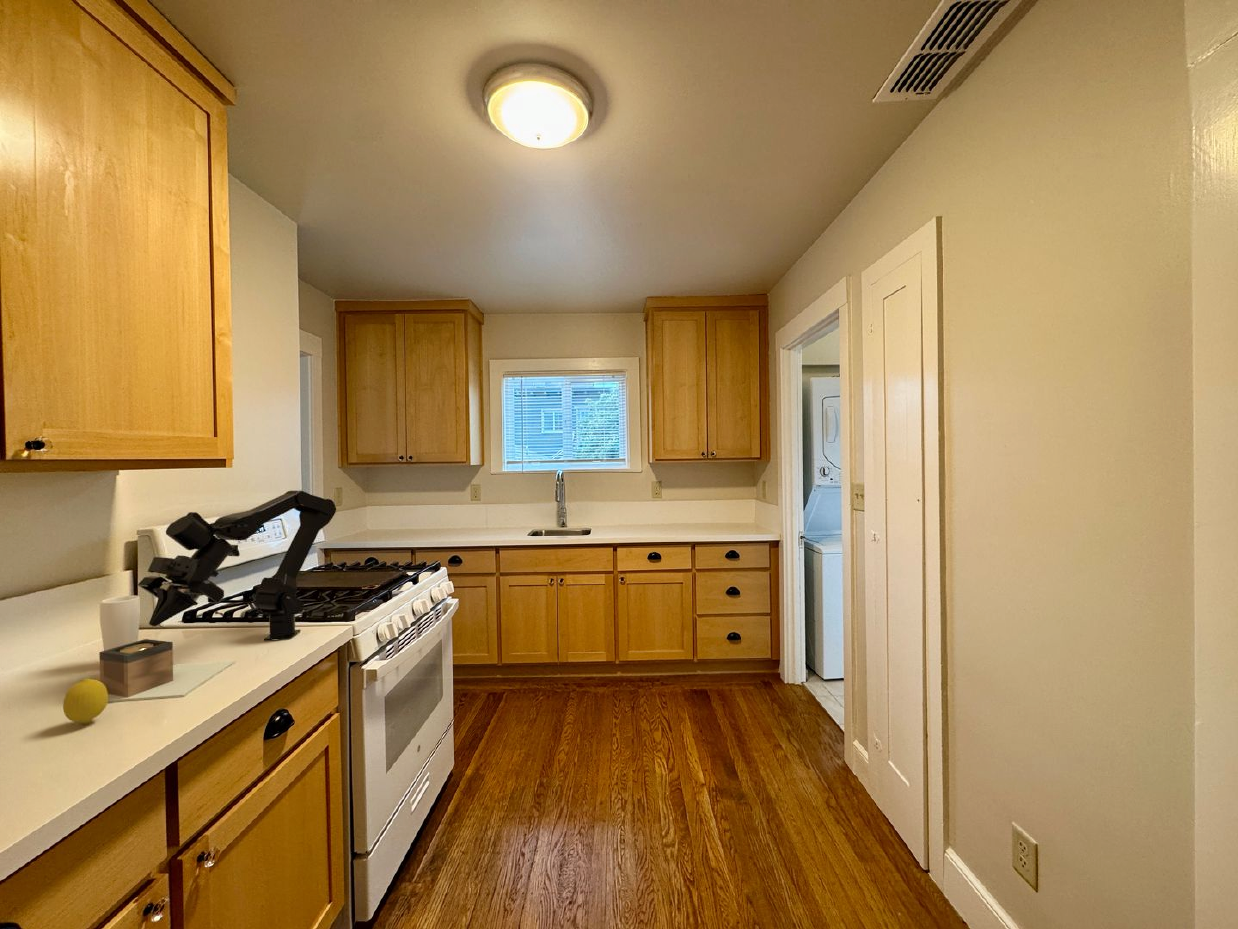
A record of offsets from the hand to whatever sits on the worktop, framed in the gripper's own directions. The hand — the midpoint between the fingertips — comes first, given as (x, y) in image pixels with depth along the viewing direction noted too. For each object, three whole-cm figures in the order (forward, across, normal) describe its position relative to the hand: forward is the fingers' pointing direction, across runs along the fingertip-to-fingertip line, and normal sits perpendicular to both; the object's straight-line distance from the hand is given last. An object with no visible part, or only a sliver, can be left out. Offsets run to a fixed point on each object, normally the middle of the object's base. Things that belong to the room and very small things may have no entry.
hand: (151, 625), depth 110 cm
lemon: (+20, +8, -2) cm, 21 cm away
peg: (+11, 0, +6) cm, 13 cm away
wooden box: (+11, 0, +6) cm, 12 cm away
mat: (+8, +2, +9) cm, 12 cm away
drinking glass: (+5, -19, +13) cm, 24 cm away
